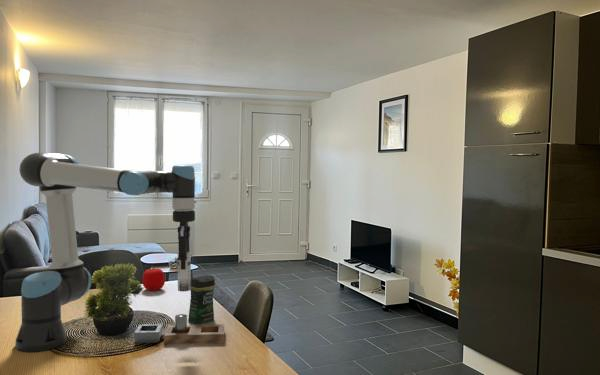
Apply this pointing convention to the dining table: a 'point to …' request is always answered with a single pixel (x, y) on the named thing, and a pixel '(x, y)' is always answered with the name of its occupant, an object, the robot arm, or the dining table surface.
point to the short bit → (181, 323)
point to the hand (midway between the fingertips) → (184, 276)
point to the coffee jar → (201, 300)
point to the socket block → (148, 333)
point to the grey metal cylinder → (186, 283)
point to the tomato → (153, 279)
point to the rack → (195, 334)
